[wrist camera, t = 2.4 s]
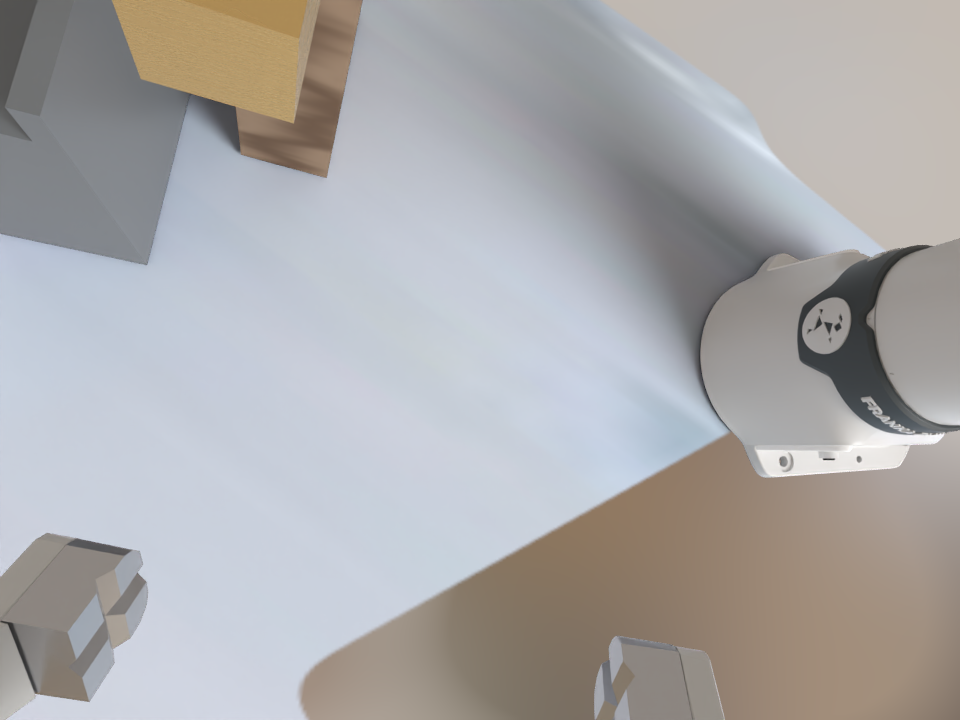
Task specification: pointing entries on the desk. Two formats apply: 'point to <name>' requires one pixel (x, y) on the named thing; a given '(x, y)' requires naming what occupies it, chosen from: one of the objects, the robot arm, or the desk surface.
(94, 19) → the cradle
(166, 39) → the wooden block
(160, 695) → the desk surface
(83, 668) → the robot arm
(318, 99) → the stand
